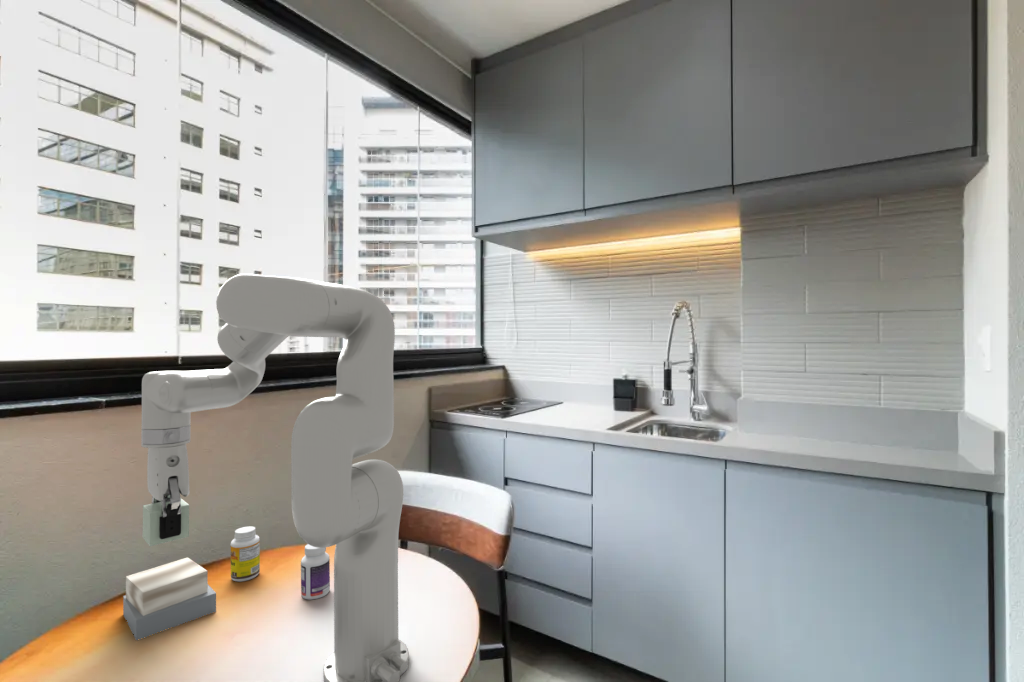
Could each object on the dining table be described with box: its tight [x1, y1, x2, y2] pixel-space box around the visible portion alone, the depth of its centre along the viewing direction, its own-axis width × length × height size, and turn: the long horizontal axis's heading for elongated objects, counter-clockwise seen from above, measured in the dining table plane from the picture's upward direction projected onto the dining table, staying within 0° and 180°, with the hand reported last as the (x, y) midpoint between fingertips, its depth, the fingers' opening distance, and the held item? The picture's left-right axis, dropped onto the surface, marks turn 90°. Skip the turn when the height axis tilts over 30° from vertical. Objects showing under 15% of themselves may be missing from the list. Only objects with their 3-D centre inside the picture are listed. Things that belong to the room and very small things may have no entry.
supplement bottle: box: [230, 525, 261, 583], centre depth 104 cm, size 6×6×10 cm
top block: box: [125, 557, 209, 616], centre depth 89 cm, size 10×10×4 cm
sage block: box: [142, 498, 190, 547], centre depth 90 cm, size 6×6×6 cm
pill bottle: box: [300, 543, 331, 601], centre depth 96 cm, size 5×5×10 cm
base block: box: [122, 584, 217, 641], centre depth 90 cm, size 12×12×4 cm
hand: (165, 530), depth 90 cm, fingers closed on sage block, 6 cm apart
